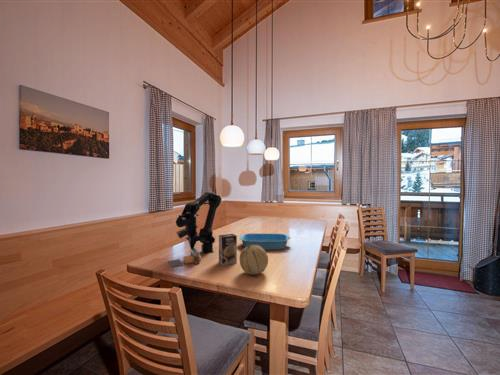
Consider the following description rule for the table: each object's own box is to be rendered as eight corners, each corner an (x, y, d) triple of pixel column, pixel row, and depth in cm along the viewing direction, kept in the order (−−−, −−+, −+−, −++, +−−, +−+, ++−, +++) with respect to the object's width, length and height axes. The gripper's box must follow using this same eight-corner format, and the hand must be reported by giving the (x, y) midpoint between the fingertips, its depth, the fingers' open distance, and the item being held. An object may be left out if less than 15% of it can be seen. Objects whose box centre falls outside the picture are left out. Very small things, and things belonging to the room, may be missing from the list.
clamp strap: (194, 251, 142) (194, 247, 142) (199, 256, 133) (199, 252, 133) (190, 252, 141) (190, 248, 141) (195, 257, 132) (195, 252, 132)
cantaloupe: (274, 273, 120) (274, 244, 120) (254, 282, 110) (253, 250, 109) (253, 265, 131) (253, 239, 130) (233, 273, 120) (233, 244, 120)
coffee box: (222, 265, 131) (222, 237, 130) (218, 262, 137) (218, 234, 136) (237, 263, 135) (237, 235, 135) (232, 259, 141) (232, 233, 140)
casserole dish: (237, 250, 160) (237, 240, 160) (241, 241, 182) (241, 232, 182) (291, 251, 157) (291, 240, 157) (288, 242, 180) (288, 233, 179)
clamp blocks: (194, 258, 143) (194, 252, 142) (199, 263, 134) (199, 256, 134) (190, 259, 141) (190, 252, 141) (195, 264, 133) (195, 257, 133)
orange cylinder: (198, 259, 141) (198, 253, 141) (200, 262, 138) (200, 255, 137) (183, 262, 137) (183, 255, 136) (185, 265, 133) (185, 258, 133)
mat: (179, 260, 140) (179, 259, 140) (183, 265, 132) (183, 264, 132) (168, 262, 137) (168, 260, 137) (172, 267, 129) (172, 266, 129)
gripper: (174, 223, 146) (174, 247, 147) (181, 228, 130) (182, 256, 131) (192, 221, 152) (192, 245, 152) (201, 226, 136) (201, 253, 136)
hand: (191, 249), depth 143 cm, fingers closed
